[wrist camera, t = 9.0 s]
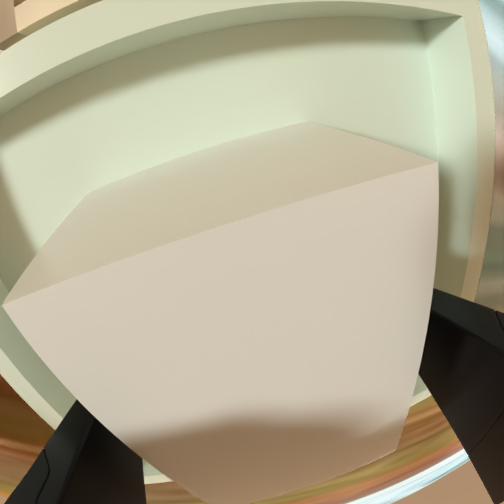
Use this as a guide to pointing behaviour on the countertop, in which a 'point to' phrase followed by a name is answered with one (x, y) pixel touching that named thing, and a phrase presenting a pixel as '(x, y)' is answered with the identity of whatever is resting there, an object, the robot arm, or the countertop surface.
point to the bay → (32, 16)
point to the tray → (235, 116)
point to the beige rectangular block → (245, 307)
